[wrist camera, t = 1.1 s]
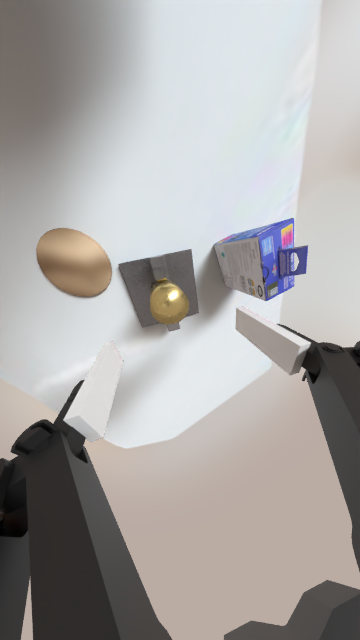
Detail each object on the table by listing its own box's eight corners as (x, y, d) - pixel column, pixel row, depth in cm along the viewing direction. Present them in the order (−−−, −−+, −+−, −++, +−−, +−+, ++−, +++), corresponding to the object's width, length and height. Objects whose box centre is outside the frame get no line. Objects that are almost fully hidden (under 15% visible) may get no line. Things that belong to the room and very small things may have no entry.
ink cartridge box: (245, 276, 31) (312, 290, 18) (225, 287, 31) (277, 309, 18) (236, 231, 26) (319, 208, 13) (212, 244, 26) (271, 235, 13)
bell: (142, 272, 23) (140, 278, 17) (175, 265, 23) (183, 268, 17) (157, 319, 28) (159, 337, 22) (183, 312, 28) (192, 329, 22)
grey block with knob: (119, 263, 24) (111, 266, 19) (189, 249, 25) (199, 248, 20) (142, 325, 31) (141, 339, 26) (197, 311, 32) (206, 321, 27)
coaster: (21, 235, 20) (18, 235, 19) (94, 223, 21) (92, 222, 20) (65, 301, 25) (63, 302, 25) (121, 288, 26) (120, 289, 26)
